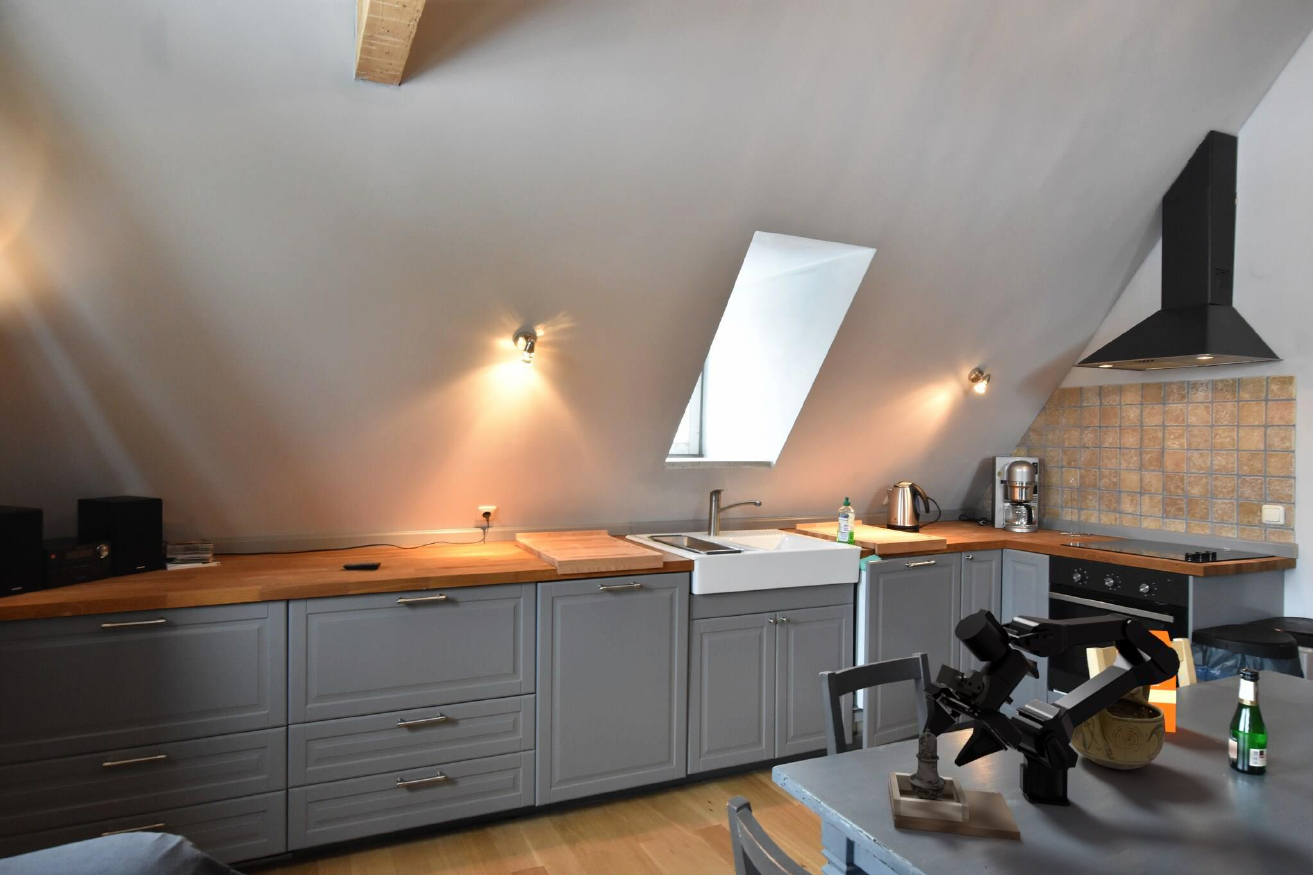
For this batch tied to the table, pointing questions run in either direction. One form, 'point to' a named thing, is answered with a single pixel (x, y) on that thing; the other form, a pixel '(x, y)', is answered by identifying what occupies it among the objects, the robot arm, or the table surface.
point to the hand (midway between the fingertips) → (938, 753)
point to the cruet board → (951, 810)
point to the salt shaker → (927, 770)
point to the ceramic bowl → (1123, 732)
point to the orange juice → (1164, 692)
